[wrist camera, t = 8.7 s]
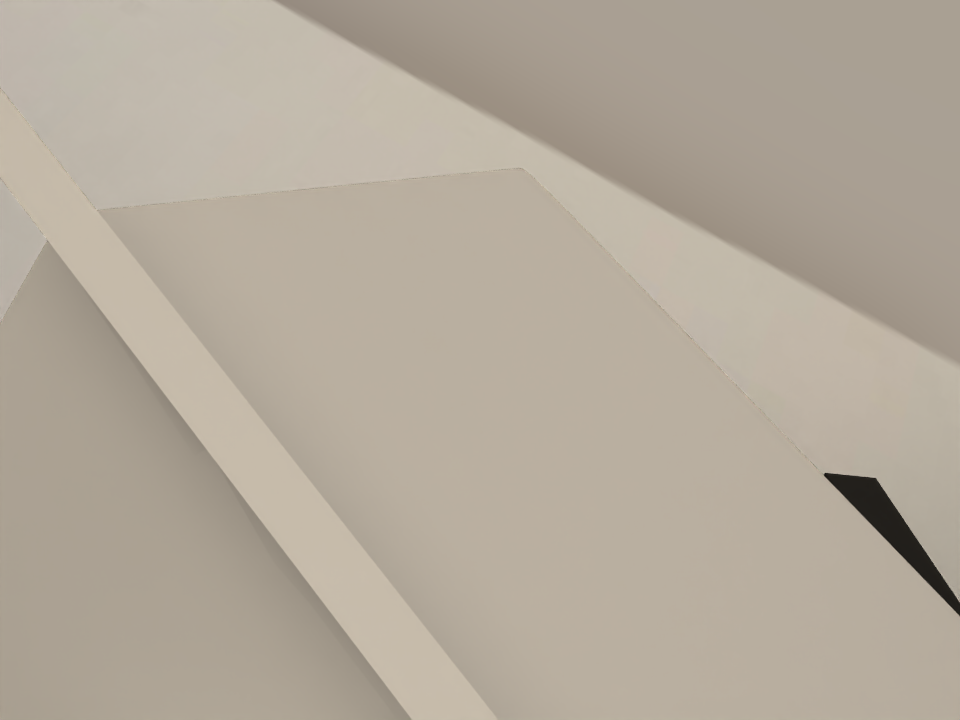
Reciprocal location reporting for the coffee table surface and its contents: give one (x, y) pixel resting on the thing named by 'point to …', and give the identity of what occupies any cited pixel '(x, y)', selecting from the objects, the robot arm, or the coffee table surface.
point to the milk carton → (409, 478)
